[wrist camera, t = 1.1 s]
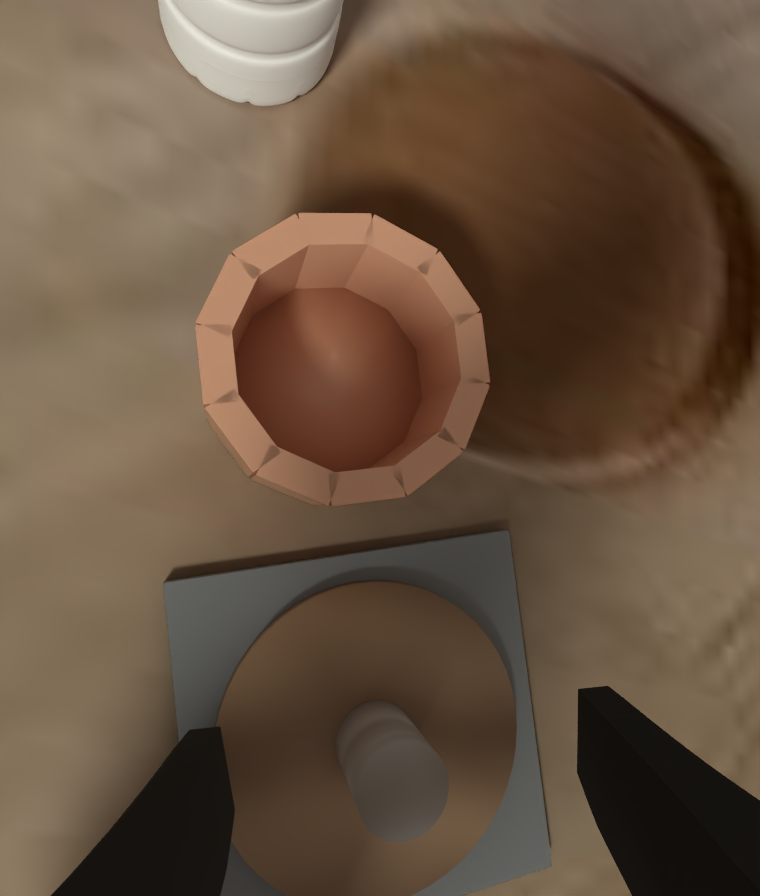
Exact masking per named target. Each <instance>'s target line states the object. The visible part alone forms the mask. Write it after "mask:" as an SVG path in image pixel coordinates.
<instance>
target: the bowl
mask: <svg viewBox="0 0 760 896" xmlns="http://www.w3.org/2000/svg"><path fill="white" fill-rule="evenodd" d="M437 250H438V249H437V248H435V247H433V246H431V245H430V244H428V243H426V242H424V241H422V240H420V239H419V238H417V237H415V236H413V235H411V234H410V233H408V232H406V231H404V230H402V229H400V228H399V227H397V226H395V225H393V224H391V223H390V222H388V221H386V220H384V219H382V218H380V217H379V216H377V215H375V214H374V216H373V218H372V216H371V213H298V217H297V215H296V214H294V215H292V216H291V217H289V218H287V219H286V220H284V221H282V222H281V223H279V224H277V225H275V226H274V227H272V228H270V229H269V230H267V231H265V232H264V233H262V234H260V235H259V236H257V237H255V238H254V239H252V240H250V241H249V242H247V243H245V244H243V245H242V246H240V247H238V248H237V249H235V250H233V251H232V255H231V254H229V256H228V258H227V260H226V262H225V264H224V266H223V268H222V270H221V272H220V274H219V276H218V278H217V280H216V282H215V284H214V286H213V288H212V290H211V292H210V294H209V296H208V298H207V300H206V302H205V304H204V306H203V308H202V310H201V312H200V314H199V316H198V318H197V320H196V325H195V328H196V338H197V348H198V358H199V367H200V377H201V387H202V396H203V405H204V408H205V412H206V415H207V419H208V422H209V425H210V427H211V428H212V430H213V431H214V432H215V434H216V435H217V436H218V438H219V439H220V440H221V442H222V443H223V444H224V446H225V447H226V448H227V450H228V451H229V452H230V454H231V455H232V456H233V458H234V459H235V460H236V462H237V463H238V464H239V466H240V467H241V468H242V470H243V471H244V472H245V474H246V475H247V476H248V477H249V476H251V475H252V474H253V475H252V477H251V480H254V481H256V482H258V483H261V484H263V485H265V486H268V487H270V488H273V489H275V490H277V491H280V492H282V493H284V494H287V495H289V496H291V497H294V498H296V499H298V500H301V501H303V502H305V503H308V504H314V505H323V506H331V507H332V506H340V505H348V504H356V503H363V502H371V501H379V500H386V499H394V498H402V497H405V496H409V495H410V494H411V493H412V492H414V491H415V490H416V489H417V488H419V487H420V486H421V485H422V484H424V483H425V482H426V481H427V480H429V479H430V478H431V477H433V476H434V475H435V474H436V473H438V472H439V471H440V470H441V469H443V468H444V467H445V466H446V465H448V464H449V463H450V462H451V461H453V460H454V459H455V458H456V457H458V456H459V455H460V454H462V453H463V451H462V450H465V448H466V446H467V443H468V441H469V438H470V436H471V433H472V430H473V428H474V425H475V423H476V420H477V418H478V415H479V412H480V410H481V407H482V405H483V402H484V400H485V397H486V394H487V392H488V389H489V387H490V385H488V384H487V383H490V376H489V368H488V360H487V352H486V344H485V337H484V329H483V321H482V313H477V312H478V311H480V309H479V307H478V306H477V304H476V303H475V302H474V300H473V299H472V297H471V296H470V294H469V293H468V291H467V290H466V288H465V287H464V285H463V284H462V282H461V281H460V280H459V278H458V277H457V275H456V274H455V272H454V271H453V269H452V268H451V266H450V265H449V263H448V262H447V261H446V259H445V258H444V256H443V255H442V253H441V252H438V253H437V254H436V252H437Z"/></svg>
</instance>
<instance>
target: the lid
mask: <svg viewBox="0 0 760 896" xmlns="http://www.w3.org/2000/svg"><path fill="white" fill-rule="evenodd" d="M215 727H221V733H222V739H223V744H224V750H225V756H226V761H227V767H228V773H229V778H230V784H231V789H232V795H233V801H234V806H235V814H234V822H233V830H232V837H231V841H232V843H233V844H234V846H235V847H236V849H237V850H238V852H239V853H240V855H241V856H242V858H243V859H244V860H245V862H246V863H247V864H248V865H249V866H250V867H251V868H252V869H253V870H254V871H255V872H256V873H257V874H258V875H259V876H260V877H261V878H262V879H264V880H265V881H266V882H268V883H269V884H270V885H271V886H273V887H274V888H275V889H277V890H279V891H281V892H283V893H284V894H286V895H288V896H412V895H414V894H415V893H417V892H419V891H421V890H423V889H425V888H426V887H428V886H430V885H432V884H433V883H434V882H436V881H437V880H439V879H440V878H441V877H443V876H444V875H446V874H447V873H448V872H449V871H450V870H452V869H453V868H454V867H455V866H456V865H457V864H458V863H459V862H460V861H461V860H462V859H463V858H464V857H465V856H466V855H467V854H468V853H469V852H470V850H471V849H472V848H473V847H474V846H475V845H476V844H477V842H478V841H479V839H480V838H481V837H482V835H483V834H484V832H485V831H486V829H487V828H488V826H489V825H490V823H491V821H492V819H493V817H494V816H495V814H496V812H497V810H498V808H499V806H500V804H501V801H502V799H503V796H504V794H505V791H506V789H507V786H508V782H509V779H510V775H511V771H512V768H513V762H514V756H515V750H516V735H517V721H516V707H515V702H514V696H513V691H512V687H511V684H510V680H509V677H508V674H507V671H506V669H505V666H504V664H503V662H502V660H501V658H500V656H499V653H498V652H497V650H496V649H495V647H494V645H493V644H492V642H491V641H490V639H489V637H488V636H487V635H486V634H485V633H484V631H483V630H482V629H481V628H480V627H479V625H478V624H477V623H476V622H475V621H474V620H473V619H472V618H470V617H469V616H468V615H467V614H466V613H465V612H464V611H463V610H461V609H460V608H458V607H457V606H455V605H454V604H452V603H451V602H449V601H448V600H446V599H444V598H442V597H440V596H438V595H436V594H434V593H432V592H430V591H428V590H426V589H423V588H420V587H417V586H414V585H410V584H406V583H401V582H395V581H387V580H366V581H355V582H350V583H346V584H341V585H337V586H333V587H331V588H328V589H325V590H323V591H320V592H317V593H315V594H313V595H311V596H309V597H307V598H306V599H304V600H302V601H300V602H298V603H296V604H295V605H294V606H292V607H291V608H289V609H288V610H286V611H285V612H284V613H282V614H281V615H280V616H278V617H277V618H276V619H275V620H274V621H273V622H272V623H271V624H270V625H269V626H267V627H266V628H265V629H264V630H263V631H262V633H261V634H260V635H259V636H258V637H257V638H256V639H255V641H254V642H253V643H252V644H251V645H250V647H249V648H248V650H247V651H246V653H245V654H244V656H243V657H242V658H241V660H240V661H239V663H238V664H237V666H236V668H235V670H234V672H233V674H232V676H231V678H230V680H229V682H228V684H227V687H226V690H225V692H224V695H223V698H222V701H221V703H220V707H219V711H218V715H217V720H216V724H215Z"/></svg>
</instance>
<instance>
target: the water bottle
mask: <svg viewBox="0 0 760 896" xmlns="http://www.w3.org/2000/svg"><path fill="white" fill-rule="evenodd" d="M343 2H344V0H158V3H159V11H160V17H161V22H162V25H163V28H164V32H165V35H166V38H167V40H168V43H169V45H170V47H171V49H172V51H173V52H174V54H175V56H176V57H177V59H178V60H179V61H180V63H181V64H182V65H183V67H184V68H185V69H186V70H187V71H188V72H189V73H190V74H191V75H192V76H195V77H197V78H198V79H199V81H200V82H201V83H202V84H203V85H204V86H205V87H206V88H208V89H209V90H211V91H213V92H214V93H216V94H218V95H220V96H222V97H224V98H227V99H229V100H232V101H235V102H239V103H244V102H250V103H251V104H253V105H256V106H273V105H279V104H284V103H287V102H290V101H292V100H293V99H295V98H296V97H297V96H298V95H304V94H306V93H307V92H308V91H310V90H311V89H312V88H313V87H314V86H315V85H316V84H317V83H318V82H319V80H320V79H321V78H322V76H323V75H324V73H325V71H326V69H327V67H328V65H329V62H330V59H331V57H332V53H333V49H334V45H335V41H336V36H337V32H338V28H339V23H340V18H341V12H342V5H343Z"/></svg>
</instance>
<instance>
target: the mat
mask: <svg viewBox="0 0 760 896" xmlns="http://www.w3.org/2000/svg"><path fill="white" fill-rule="evenodd" d="M366 580H387V581H395V582H401V583H406V584H410V585H414V586H417V587H420V588H423V589H426V590H428V591H430V592H432V593H434V594H436V595H438V596H440V597H442V598H444V599H446V600H448V601H449V602H451V603H452V604H454V605H455V606H457V607H458V608H460V609H461V610H463V611H464V612H465V613H466V614H467V615H468V616H469V617H470V618H472V619H473V620H474V621H475V622H476V623H477V624H478V625H479V627H480V628H481V629H482V630H483V631H484V633H485V634H486V635H487V636H488V637H489V639H490V641H491V642H492V644H493V645H494V647H495V649H496V650H497V652H498V653H499V656H500V658H501V660H502V662H503V664H504V666H505V669H506V671H507V674H508V677H509V680H510V684H511V687H512V691H513V696H514V702H515V707H516V721H517V735H516V750H515V756H514V762H513V768H512V771H511V775H510V779H509V782H508V786H507V789H506V791H505V794H504V796H503V799H502V801H501V804H500V806H499V808H498V810H497V812H496V814H495V816H494V817H493V819H492V821H491V823H490V825H489V826H488V828H487V829H486V831H485V832H484V834H483V835H482V837H481V838H480V839H479V841H478V842H477V844H476V845H475V846H474V847H473V848H472V849H471V850H470V852H469V853H468V854H467V855H466V856H465V857H464V858H463V859H462V860H461V861H460V862H459V863H458V864H457V865H456V866H455V867H454V868H453V869H452V870H450V871H449V872H448V873H447V874H446V875H444V876H443V877H441V878H440V879H439V880H437V881H436V882H434V883H433V884H432V885H430V886H428V887H426V888H425V889H423V890H421V891H419V892H417V893H415V894H414V895H412V896H463V895H466V894H469V893H472V892H475V891H478V890H481V889H484V888H487V887H490V886H493V885H496V884H499V883H502V882H505V881H508V880H511V879H514V878H517V877H520V876H523V875H526V874H530V873H533V872H536V871H539V870H542V869H545V868H548V867H551V866H552V861H551V853H550V846H549V838H548V830H547V822H546V815H545V807H544V799H543V791H542V783H541V776H540V768H539V760H538V752H537V744H536V737H535V729H534V721H533V713H532V705H531V698H530V690H529V682H528V674H527V666H526V659H525V651H524V643H523V635H522V627H521V620H520V612H519V604H518V596H517V588H516V581H515V573H514V565H513V557H512V549H511V542H510V534H509V530H497V531H490V532H483V533H477V534H470V535H464V536H457V537H450V538H444V539H437V540H431V541H424V542H418V543H411V544H404V545H398V546H391V547H385V548H378V549H371V550H365V551H358V552H352V553H345V554H338V555H332V556H325V557H319V558H312V559H305V560H299V561H292V562H286V563H279V564H273V565H266V566H259V567H253V568H246V569H240V570H233V571H226V572H220V573H213V574H207V575H200V576H193V577H187V578H180V579H174V580H167V581H164V583H163V586H164V596H165V607H166V617H167V627H168V637H169V648H170V658H171V668H172V678H173V688H174V699H175V709H176V719H177V729H178V739H179V742H180V741H181V739H182V738H183V737H184V735H185V734H186V733H187V732H188V731H189V730H191V729H201V728H211V727H215V724H216V720H217V715H218V711H219V707H220V703H221V701H222V698H223V695H224V692H225V690H226V687H227V684H228V682H229V680H230V678H231V676H232V674H233V672H234V670H235V668H236V666H237V664H238V663H239V661H240V660H241V658H242V657H243V656H244V654H245V653H246V651H247V650H248V648H249V647H250V645H251V644H252V643H253V642H254V641H255V639H256V638H257V637H258V636H259V635H260V634H261V633H262V631H263V630H264V629H265V628H266V627H267V626H269V625H270V624H271V623H272V622H273V621H274V620H275V619H276V618H277V617H278V616H280V615H281V614H282V613H284V612H285V611H286V610H288V609H289V608H291V607H292V606H294V605H295V604H296V603H298V602H300V601H302V600H304V599H306V598H307V597H309V596H311V595H313V594H315V593H317V592H320V591H323V590H325V589H328V588H331V587H333V586H337V585H341V584H346V583H350V582H355V581H366ZM220 896H288V895H286V894H284V893H283V892H281V891H279V890H277V889H275V888H274V887H273V886H271V885H270V884H269V883H268V882H266V881H265V880H264V879H262V878H261V877H260V876H259V875H258V874H257V873H256V872H255V871H254V870H253V869H252V868H251V867H250V866H249V865H248V864H247V863H246V862H245V860H244V859H243V858H242V856H241V855H240V853H239V852H238V850H237V849H236V847H235V846H234V844H233V843H232V841H231V844H230V851H229V858H228V865H227V870H226V874H225V879H224V883H223V887H222V891H221V895H220Z"/></svg>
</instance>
